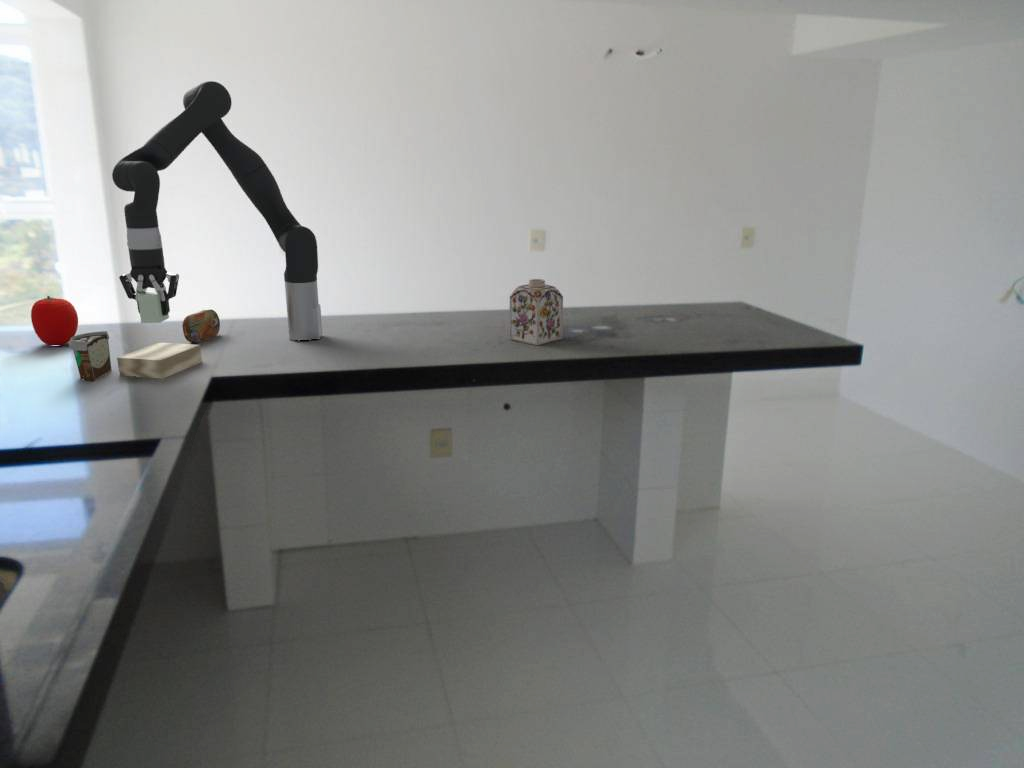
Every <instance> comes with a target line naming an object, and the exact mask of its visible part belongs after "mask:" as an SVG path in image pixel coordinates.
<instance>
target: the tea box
mask: <svg viewBox="0 0 1024 768" xmlns="http://www.w3.org/2000/svg"><path fill="white" fill-rule="evenodd" d="M137 296H138V303H139V310H140V314H139V317H140V323H141V324H157V323H159V324H161V323H163V322H164V321H166V320H168V319H169V318H170V315H169V313H170V312H169V313H168V315H166V316H163V315H162V310H161V302H160V301H161V299H160V296H159V293H157V292H156V290H146V292H143V293H142V294H138V295H137Z"/></svg>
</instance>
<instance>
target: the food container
mask: <svg viewBox="0 0 1024 768" xmlns="http://www.w3.org/2000/svg"><path fill="white" fill-rule="evenodd" d="M109 339H110V336H109V333H108V331H107V330H106V331H104V330H103V331H92V332H85V333H80V334H77V335H76V334H75V336H74V337H72V338H71V340H70V341H69V344H68V345H69V349H70V350H72V351H73V355H74V359H75V362H76V366H77V370H78V373H79V377H80V380H82V379H84V380H90V381H89V382H96V381H97V379H98V378H99V379H100V377H101V378H102V377H104V376H106V375H107V374H109V373H111V372H112V370H113V369H112V362H111V354H110V343H109ZM105 374H106V375H105ZM103 375H104V376H103ZM99 379H98V380H99ZM84 380H83V381H84ZM95 380H96V381H95Z"/></svg>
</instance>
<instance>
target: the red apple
mask: <svg viewBox="0 0 1024 768" xmlns="http://www.w3.org/2000/svg"><path fill="white" fill-rule="evenodd" d="M30 318H31V324H32V328H33V331H34V333H35V334H36V336H37V337H38V338H39V340H41V342H43V344H45V345H47V346H50V345H62V346H64V344H65V345H67V344H68V343H70V341H71V338H72V337H74V336H76V334H77V330H78V325H79V317H78V312H77V310H76V308H75V306H74V305H73V304H72V303H71V302H70V301H69V300H67V299H64V298H57V297H50V295H47V297H44V298H41V299H39V300H36V301H34V304H33V305H32V307H31V310H30Z"/></svg>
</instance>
